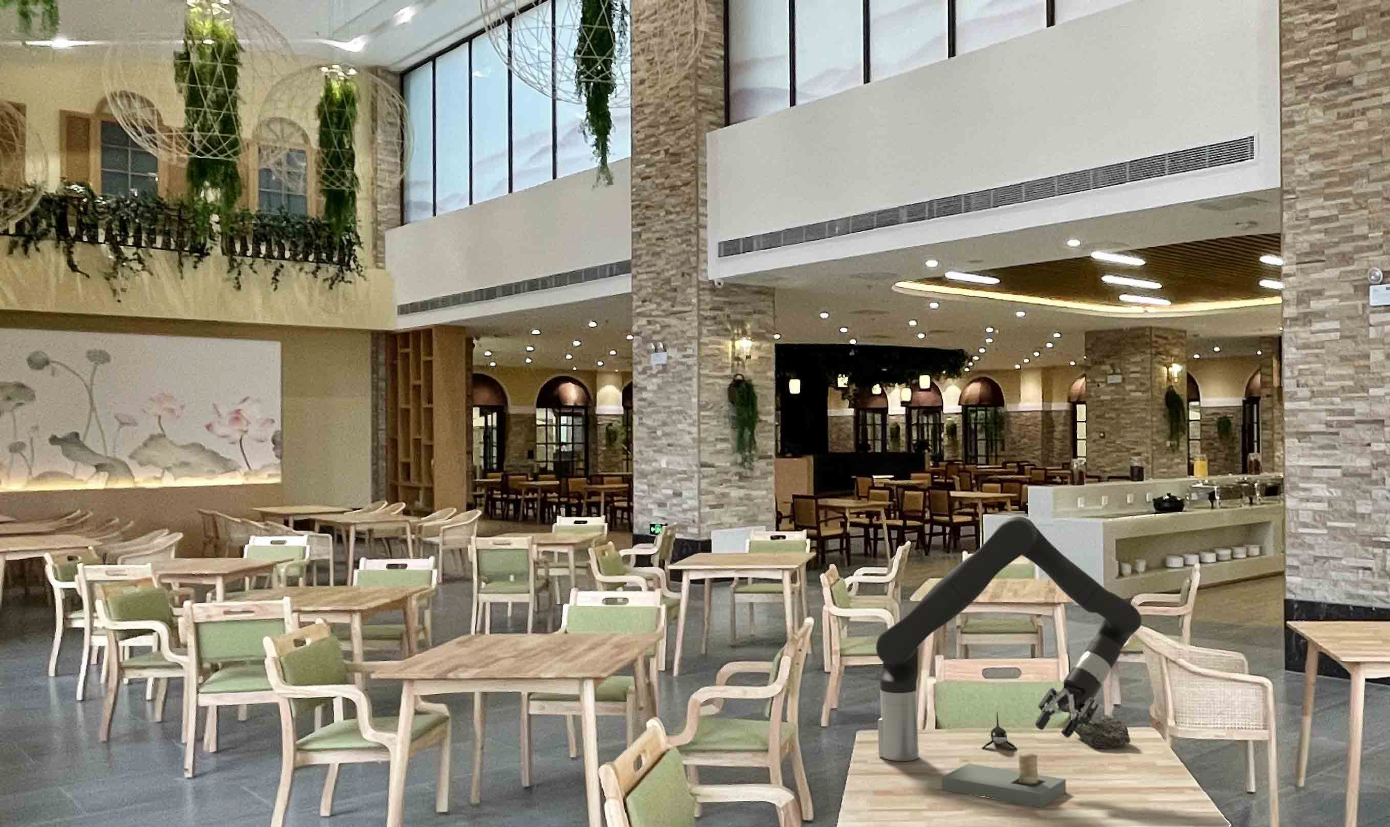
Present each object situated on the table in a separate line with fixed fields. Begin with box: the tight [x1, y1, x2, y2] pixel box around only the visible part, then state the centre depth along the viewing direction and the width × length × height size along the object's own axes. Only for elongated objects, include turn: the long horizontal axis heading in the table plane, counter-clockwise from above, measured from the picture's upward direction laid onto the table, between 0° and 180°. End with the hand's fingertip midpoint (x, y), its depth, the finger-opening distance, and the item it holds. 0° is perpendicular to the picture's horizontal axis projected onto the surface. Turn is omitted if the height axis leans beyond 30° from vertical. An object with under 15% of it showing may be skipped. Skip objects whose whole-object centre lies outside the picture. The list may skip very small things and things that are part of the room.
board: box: [941, 762, 1067, 809], centre depth 274 cm, size 24×14×3 cm, turn 51°
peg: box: [1018, 752, 1039, 787], centre depth 270 cm, size 4×4×9 cm
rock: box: [1074, 714, 1131, 750], centre depth 315 cm, size 12×16×6 cm
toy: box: [982, 712, 1018, 750], centre depth 317 cm, size 21×10×10 cm, turn 170°
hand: (1051, 731), depth 273 cm, fingers open, 8 cm apart
